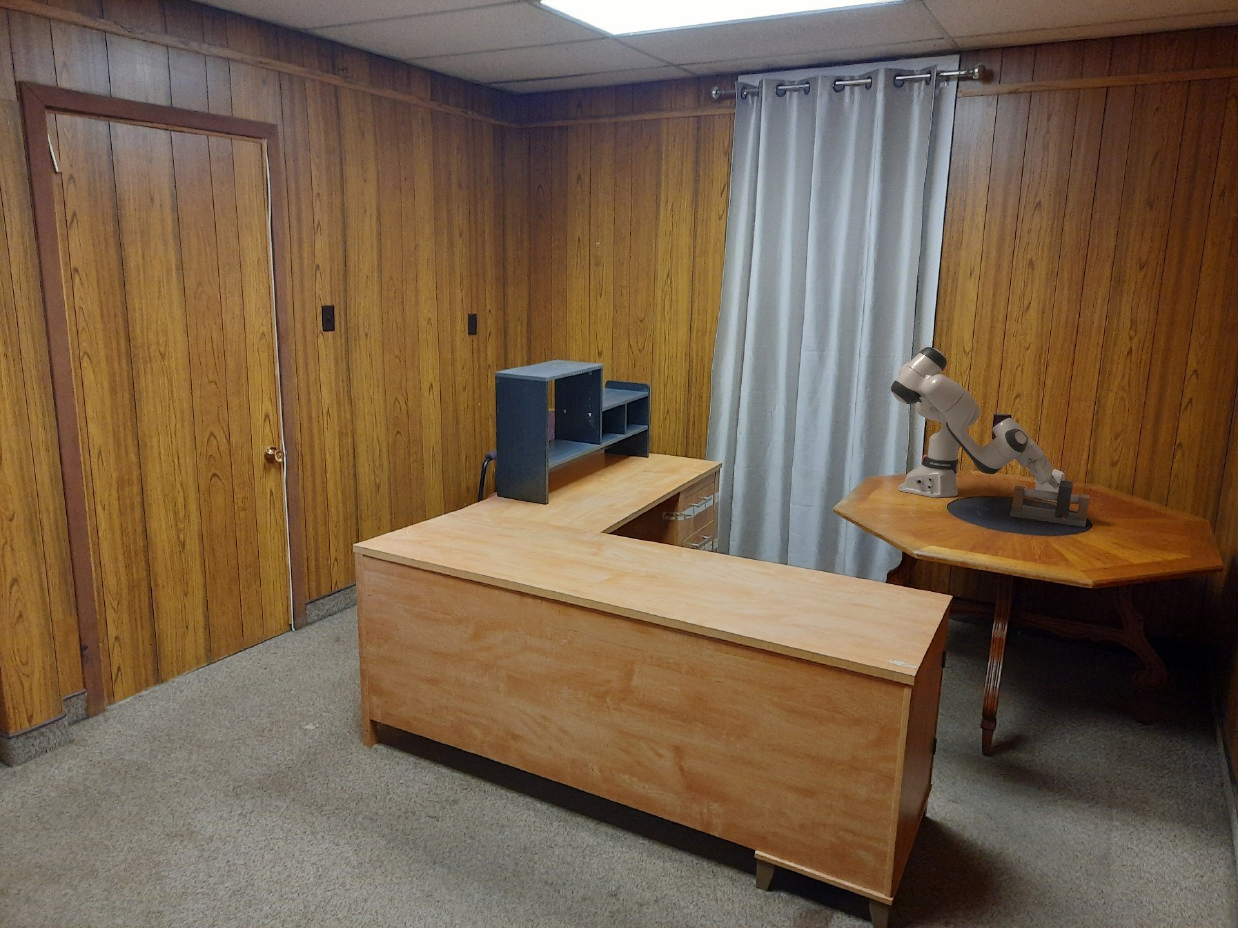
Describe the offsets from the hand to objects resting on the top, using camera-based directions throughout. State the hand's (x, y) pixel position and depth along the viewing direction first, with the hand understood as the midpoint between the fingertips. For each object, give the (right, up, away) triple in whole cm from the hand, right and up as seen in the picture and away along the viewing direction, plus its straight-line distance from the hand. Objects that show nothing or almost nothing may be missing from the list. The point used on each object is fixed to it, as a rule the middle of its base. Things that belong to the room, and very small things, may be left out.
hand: (1057, 487), depth 305 cm
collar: (+2, -9, +1) cm, 9 cm away
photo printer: (+10, -6, +27) cm, 29 cm away
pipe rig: (-1, -11, +4) cm, 12 cm away
